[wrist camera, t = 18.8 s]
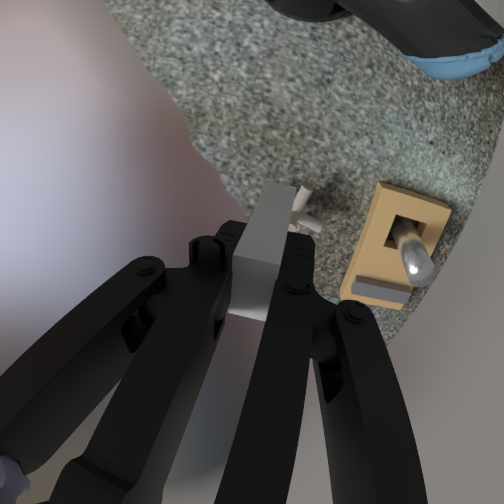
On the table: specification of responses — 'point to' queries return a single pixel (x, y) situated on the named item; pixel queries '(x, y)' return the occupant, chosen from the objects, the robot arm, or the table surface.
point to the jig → (390, 246)
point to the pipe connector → (301, 216)
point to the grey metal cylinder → (413, 252)
